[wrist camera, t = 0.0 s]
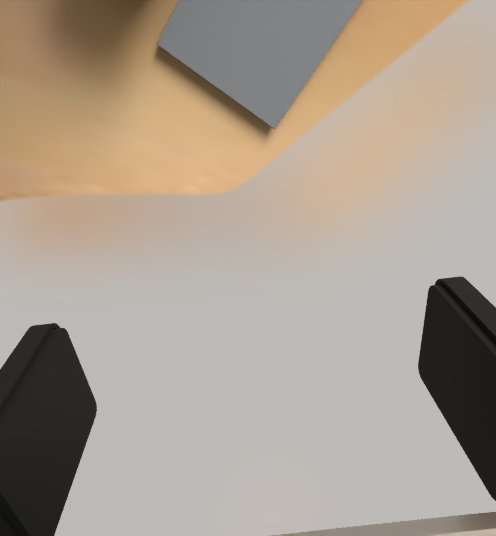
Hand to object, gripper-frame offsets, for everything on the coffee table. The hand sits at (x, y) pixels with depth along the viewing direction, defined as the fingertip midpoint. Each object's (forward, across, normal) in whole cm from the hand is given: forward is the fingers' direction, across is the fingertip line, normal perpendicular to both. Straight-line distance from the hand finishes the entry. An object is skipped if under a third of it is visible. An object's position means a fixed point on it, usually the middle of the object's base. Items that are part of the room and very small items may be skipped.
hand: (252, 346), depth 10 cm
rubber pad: (+31, -4, -10) cm, 33 cm away
